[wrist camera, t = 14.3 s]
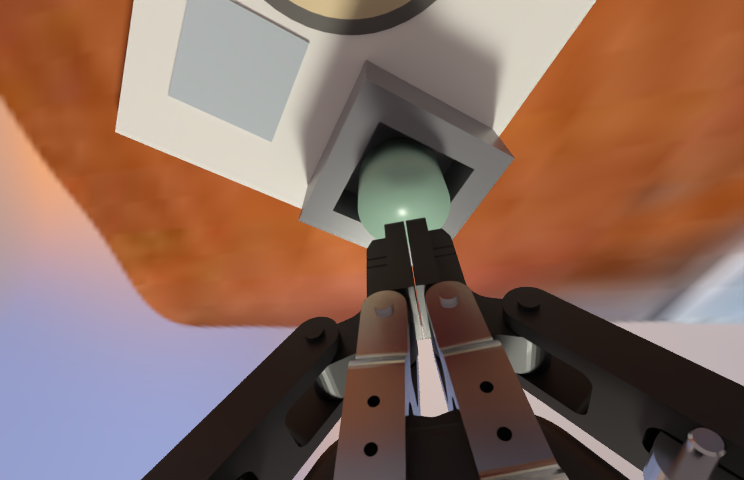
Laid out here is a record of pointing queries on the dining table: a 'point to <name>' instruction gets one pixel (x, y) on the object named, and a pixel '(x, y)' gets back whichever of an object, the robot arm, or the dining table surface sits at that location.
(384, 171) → the button
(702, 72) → the dining table surface
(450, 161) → the button housing
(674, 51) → the dining table surface
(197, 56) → the picture board
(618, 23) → the dining table surface
